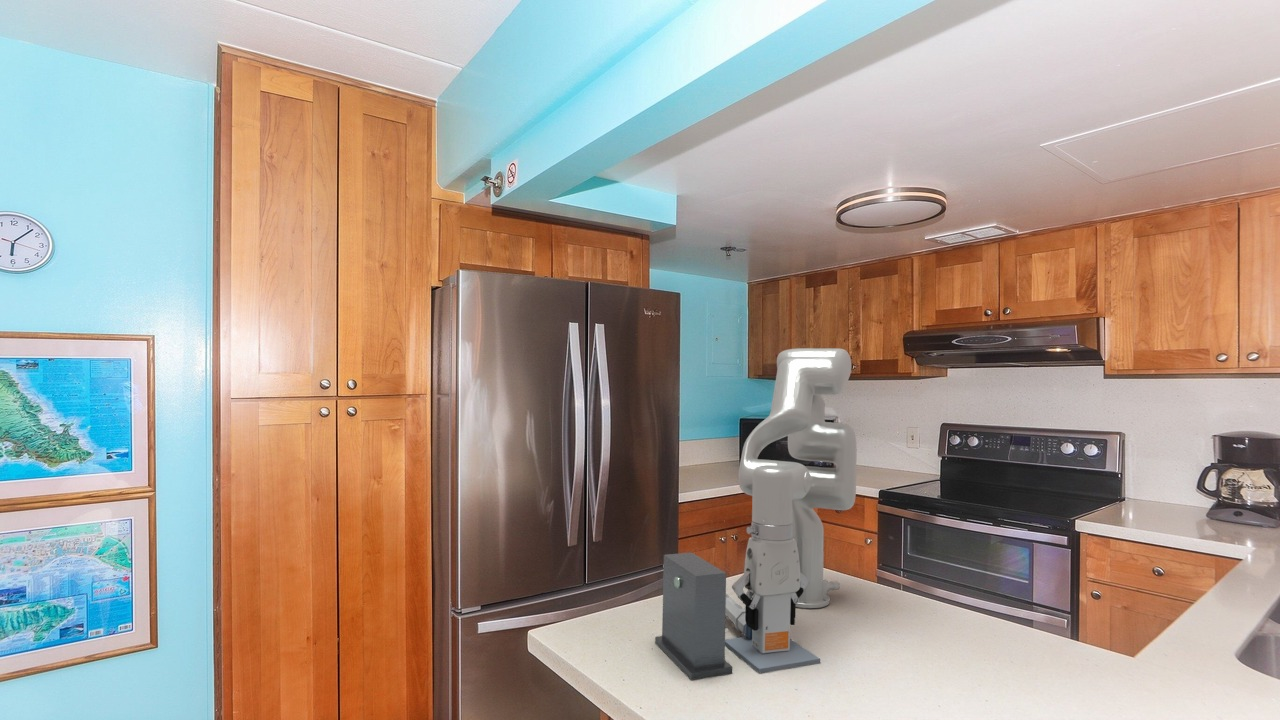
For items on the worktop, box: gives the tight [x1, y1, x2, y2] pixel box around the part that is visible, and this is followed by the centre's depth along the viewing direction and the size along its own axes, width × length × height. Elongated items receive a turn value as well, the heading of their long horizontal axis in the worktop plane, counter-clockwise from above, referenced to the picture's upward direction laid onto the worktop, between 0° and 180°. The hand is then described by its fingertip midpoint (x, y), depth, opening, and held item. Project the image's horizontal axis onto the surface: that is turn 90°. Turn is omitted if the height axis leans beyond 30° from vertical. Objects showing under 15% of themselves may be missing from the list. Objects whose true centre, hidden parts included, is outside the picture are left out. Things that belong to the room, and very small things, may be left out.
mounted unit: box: [654, 552, 733, 681], centre depth 114 cm, size 8×16×17 cm, turn 21°
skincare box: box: [752, 593, 791, 654], centre depth 117 cm, size 6×4×12 cm
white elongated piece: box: [726, 593, 752, 640], centre depth 132 cm, size 5×7×25 cm
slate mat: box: [725, 636, 821, 674], centre depth 116 cm, size 13×13×1 cm
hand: (770, 624), depth 116 cm, fingers open, 7 cm apart
